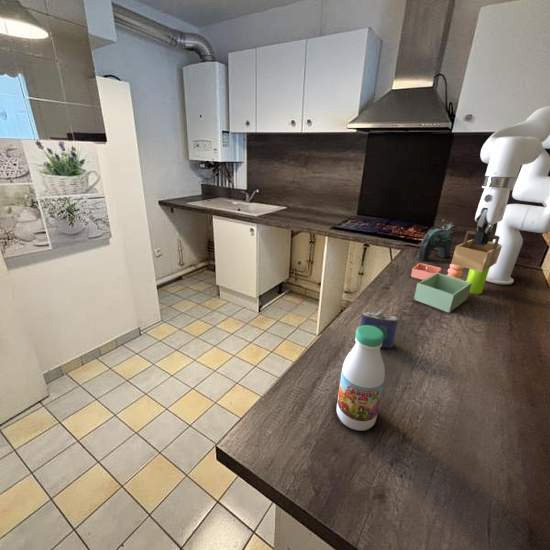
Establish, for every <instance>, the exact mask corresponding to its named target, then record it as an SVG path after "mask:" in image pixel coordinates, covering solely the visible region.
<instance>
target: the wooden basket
mask: <svg viewBox="0 0 550 550" xmlns="http://www.w3.org/2000/svg"><path fill="white" fill-rule="evenodd" d="M475 234H476V231H474V230H467V231H466V233H465V235H464V240H463V242H462V243H459V244H457V245H455V248H454V252H453V256H452V259H451V263H450V264H454V265H458V266H462V267H464V268H466V269H468V270H470V269H473V270H476V271H480V272H483V271H484V270H486V269H488V268H489V267H491V266H492V265H494V264H496V262H497V259H498V257H499V254H500V251H501V248H502V246H501V245H497V244H498V241H499V238H500V237H499V236H496V235H495V234H492V233H491V234H488V237H487V238H489V240H490V239H491V240H493V239H495V240H496V241H495V244H492V243H487V244H486V245H484V246H481V245H477V244H473V241H474V239H470V240H468V239H469V236H475Z"/></svg>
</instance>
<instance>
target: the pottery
mask: <svg viewBox="0 0 550 550" xmlns="http://www.w3.org/2000/svg"><path fill="white" fill-rule="evenodd" d="M464 268H465V267H462V266H458V265H454V264H451V263H450V264H449V268H448V269H447V274H446V275H447V276H450V277H454V278H457V279H460V280H463V279H462V275H463V273H464V272H463V270H464ZM436 273H440V274H442V267H439V266H435V265H430V264H427V263H422V262H419V263H417V264H416V265H415V266H414V267H412V269H411V274H410V277H412V278H414V279H419V280H421V281H422V280H424V279H426V278H428V277H430V276H432V275H434V274H436Z"/></svg>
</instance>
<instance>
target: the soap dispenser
mask: <svg viewBox="0 0 550 550" xmlns="http://www.w3.org/2000/svg"><path fill="white" fill-rule="evenodd" d="M488 243H492V244H495V242H493V241H488ZM497 245H500V244H497ZM489 269H490V267H489V268H488V269H486V270H484V271H483V272H480V271H476V270H473V269H468V272H467V276H466V280H465V281H467V282H471V283H472V285H471V288H470V291H469V294H473V295H480V294H482V293H483V289H484V287H485V283H486V282H487V281H486V278H487V275H488V272H489Z"/></svg>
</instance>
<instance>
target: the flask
mask: <svg viewBox="0 0 550 550" xmlns="http://www.w3.org/2000/svg"><path fill="white" fill-rule="evenodd" d="M384 312H385V310H384V309H380V310H378V312H376V313H375V312H371V311H364V312H362V313H361V318H360V324H359V325H360V326H363V325H370V326H374V327H377V328H378V329H380V330H381V331H382V332H383V335H384V337H383V342H382V346H381V347H380V349H392V348H393V346H394V341H395V337H396V331H397V326H398V324H399V323H398V322H399V318H398V317H396V316H394V315H385V313H384ZM360 326H359V327H360Z"/></svg>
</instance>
